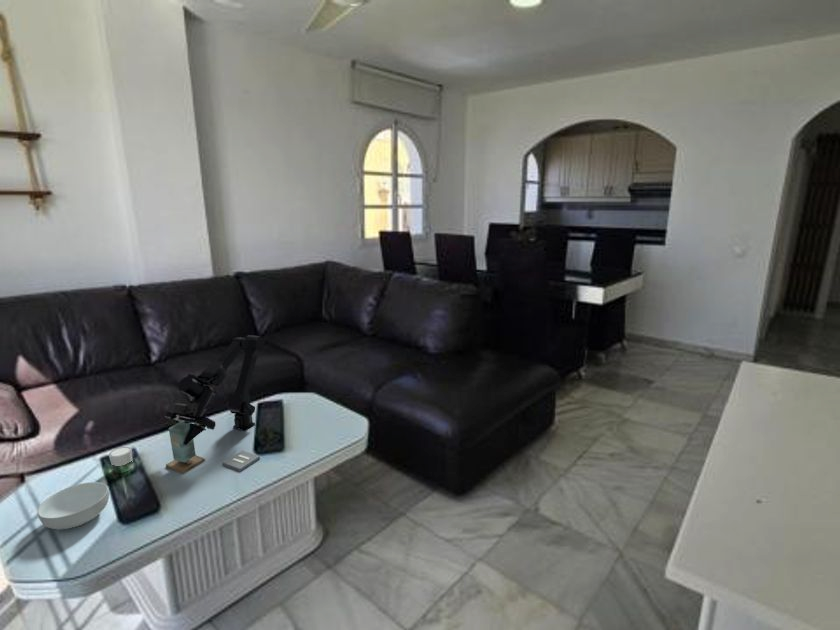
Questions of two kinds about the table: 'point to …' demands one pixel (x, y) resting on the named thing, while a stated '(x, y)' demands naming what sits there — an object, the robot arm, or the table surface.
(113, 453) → the white cylinder
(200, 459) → the walnut tile
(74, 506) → the cereal bowl
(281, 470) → the table surface
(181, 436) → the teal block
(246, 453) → the slate tile
